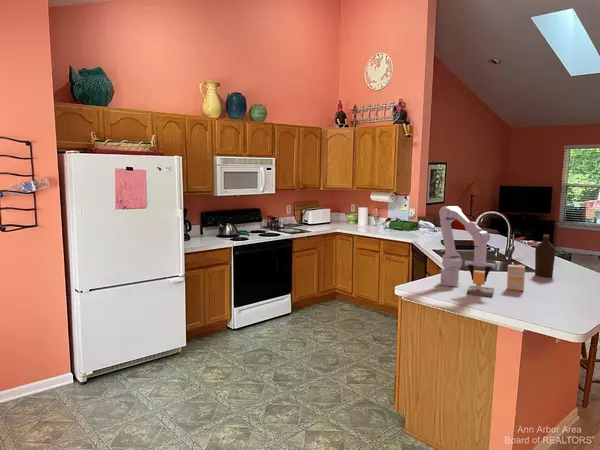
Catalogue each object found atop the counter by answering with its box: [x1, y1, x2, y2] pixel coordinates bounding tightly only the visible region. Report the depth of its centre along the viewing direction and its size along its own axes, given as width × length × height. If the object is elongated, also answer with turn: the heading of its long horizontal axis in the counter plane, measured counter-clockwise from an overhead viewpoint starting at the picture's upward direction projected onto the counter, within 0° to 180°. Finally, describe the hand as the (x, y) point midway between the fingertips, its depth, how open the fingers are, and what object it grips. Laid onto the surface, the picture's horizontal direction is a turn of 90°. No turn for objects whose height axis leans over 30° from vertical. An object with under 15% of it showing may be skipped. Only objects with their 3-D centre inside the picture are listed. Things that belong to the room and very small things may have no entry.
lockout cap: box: [472, 269, 486, 286], centre depth 224 cm, size 5×5×6 cm
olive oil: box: [534, 234, 556, 278], centre depth 262 cm, size 11×11×25 cm
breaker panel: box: [466, 285, 495, 298], centre depth 226 cm, size 12×11×3 cm
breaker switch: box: [475, 284, 482, 290], centre depth 224 cm, size 2×2×3 cm
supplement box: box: [506, 264, 526, 292], centre depth 231 cm, size 8×5×13 cm, turn 59°
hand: (479, 280), depth 224 cm, fingers closed on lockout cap, 5 cm apart
